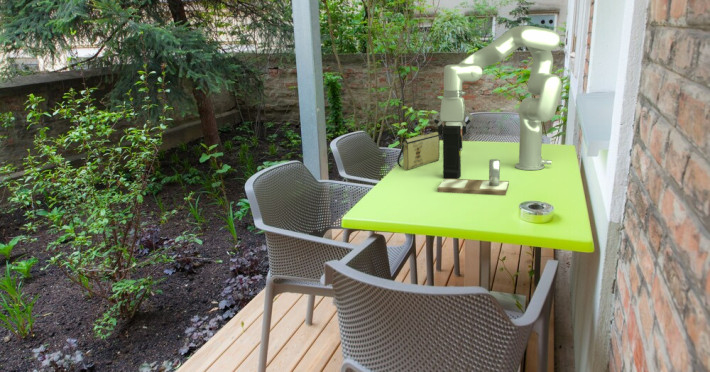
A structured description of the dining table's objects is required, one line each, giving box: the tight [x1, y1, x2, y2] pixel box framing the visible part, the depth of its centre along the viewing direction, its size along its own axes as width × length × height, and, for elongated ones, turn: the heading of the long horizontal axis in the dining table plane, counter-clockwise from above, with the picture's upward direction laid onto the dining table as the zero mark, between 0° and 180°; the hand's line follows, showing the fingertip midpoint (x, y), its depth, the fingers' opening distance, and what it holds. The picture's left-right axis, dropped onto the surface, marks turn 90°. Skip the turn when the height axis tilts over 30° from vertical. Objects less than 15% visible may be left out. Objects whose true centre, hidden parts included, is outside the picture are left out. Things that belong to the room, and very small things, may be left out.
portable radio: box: [442, 124, 463, 180], centre depth 215 cm, size 8×6×25 cm
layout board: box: [437, 178, 510, 196], centre depth 200 cm, size 26×16×2 cm, turn 69°
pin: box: [488, 158, 501, 186], centre depth 196 cm, size 4×4×10 cm
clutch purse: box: [396, 131, 440, 171], centre depth 244 cm, size 30×7×15 cm, turn 136°
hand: (452, 135), depth 213 cm, fingers open, 9 cm apart
